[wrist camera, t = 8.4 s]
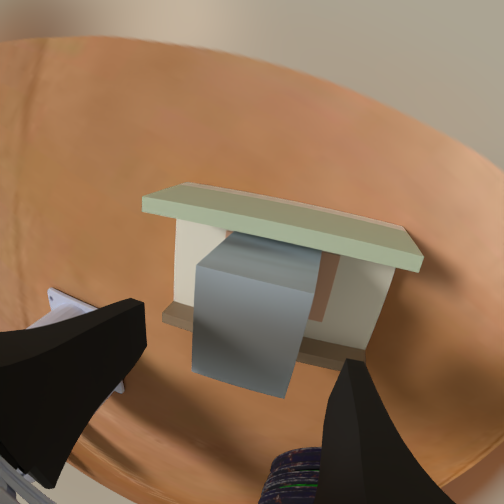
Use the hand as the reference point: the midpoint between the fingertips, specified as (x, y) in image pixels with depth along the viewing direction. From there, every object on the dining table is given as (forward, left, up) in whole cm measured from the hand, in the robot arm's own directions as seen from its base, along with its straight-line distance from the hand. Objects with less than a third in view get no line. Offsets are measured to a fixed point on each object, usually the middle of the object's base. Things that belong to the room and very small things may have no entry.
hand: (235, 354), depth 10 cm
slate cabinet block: (0, 0, -7) cm, 7 cm away
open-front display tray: (0, 0, -8) cm, 8 cm away
